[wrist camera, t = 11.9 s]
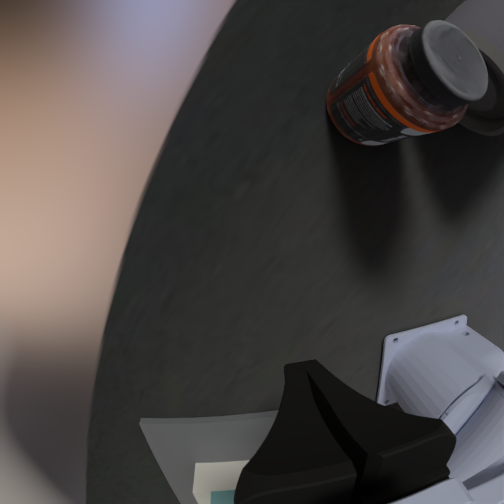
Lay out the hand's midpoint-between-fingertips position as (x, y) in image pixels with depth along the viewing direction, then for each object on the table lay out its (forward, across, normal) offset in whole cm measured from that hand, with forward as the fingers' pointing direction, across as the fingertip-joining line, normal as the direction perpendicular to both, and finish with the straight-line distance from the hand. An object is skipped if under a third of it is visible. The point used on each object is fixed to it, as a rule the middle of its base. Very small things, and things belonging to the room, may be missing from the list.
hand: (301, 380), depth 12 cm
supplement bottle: (+11, -8, -13) cm, 19 cm away
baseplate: (+10, +3, +19) cm, 22 cm away
